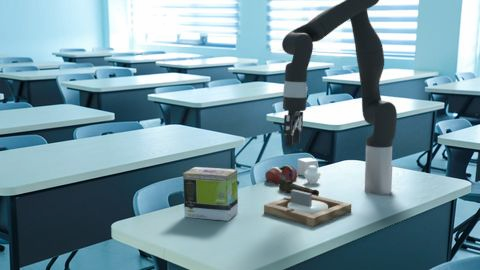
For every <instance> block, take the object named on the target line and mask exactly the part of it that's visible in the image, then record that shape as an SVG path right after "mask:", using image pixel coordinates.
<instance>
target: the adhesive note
mask: <svg viewBox="0 0 480 270" xmlns="http://www.w3.org/2000/svg"><path fill="white" fill-rule="evenodd" d="M311 165H314V166H316V167H317V169H318V170H319V167H318V166H319V162H318V159H316V158H312V157H304V158H302V157H301V158H297V169H296V171H297V175H301V176H304V177H305V174H304V173H305V171H307V169H308V167H309V166H311Z"/></svg>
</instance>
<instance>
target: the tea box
mask: <svg viewBox="0 0 480 270" xmlns="http://www.w3.org/2000/svg"><path fill="white" fill-rule="evenodd" d="M182 176H183V177H182V179H183V202H184V203H183V208H184V209H183V211H184V217H185V218H190V219H191V218H193V219H202V220H203V219H204V220H213V221H225V222H229V221H230V220H232V218H234V217H235V216H236V215H238V212H239V209H238V208H239V196H238V195H239V194H238V193H239V192H238V191H239V190H238V168H237V169H235V168H223V167H222V168H221V167H220V168H219V167H207V166H206V167H201V166H195V167H192V168H190V169H189V170H187V171H185V172H183V173H182Z"/></svg>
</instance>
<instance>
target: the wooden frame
mask: <svg viewBox="0 0 480 270" xmlns="http://www.w3.org/2000/svg"><path fill="white" fill-rule="evenodd" d="M312 200H315V201H320V202H323V203H326V204H327V205H328V209H326V210H323V211H320V212H318V213H315V214H308V213H304V212H300V211H297V210H294V209H292V208H291V209H289V208H288V204H289V203H290V202H291V195H290V196H286V197H283V198H281V199H278V200H274V201H272V202H268V203H265V204H263V214H266V215H269V216H273V217H276V218H280V219H283V220H286V221H290V222H294V223H296V224H297V223H298V224H301V225H304V226H308V227H312V228H315V227H318V226H320V225H323V224H325V223H328V222H330V221H333V220H336V219H338V218H341V217H343V216H345V215H348V214H351V213H352V203H348V202H344V201H340V200H338V199H337V200H336V199H332V198H328V197H322V196H316V195H312Z"/></svg>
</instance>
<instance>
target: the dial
mask: <svg viewBox="0 0 480 270" xmlns="http://www.w3.org/2000/svg"><path fill="white" fill-rule="evenodd" d="M290 196H291V202H290V203H289V204H288V208H289V209H291V208H292V209H294V210H297V211H300V212H304V213H308V214H315V213H318V212H320V211H323V210H326V209H328V205H327V204H326V203H323V202H320V201H315V200H312V194H311V193H306V192H302V191H298V190H291V193H290Z"/></svg>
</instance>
